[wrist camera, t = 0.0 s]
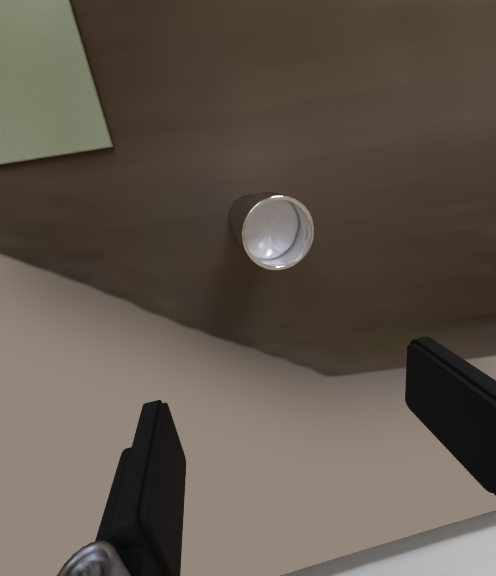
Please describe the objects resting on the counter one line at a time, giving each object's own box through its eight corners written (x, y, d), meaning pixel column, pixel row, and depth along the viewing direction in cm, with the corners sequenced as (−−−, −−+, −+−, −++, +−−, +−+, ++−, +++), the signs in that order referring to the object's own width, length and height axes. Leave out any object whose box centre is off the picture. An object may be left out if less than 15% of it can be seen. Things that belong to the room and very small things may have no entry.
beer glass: (216, 228, 39) (225, 251, 25) (241, 180, 37) (264, 176, 23) (260, 251, 41) (290, 284, 27) (284, 207, 39) (331, 218, 25)
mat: (-80, 12, 28) (-86, 8, 27) (68, -4, 29) (66, -8, 28) (-11, 166, 33) (-15, 166, 32) (113, 147, 34) (112, 146, 33)
